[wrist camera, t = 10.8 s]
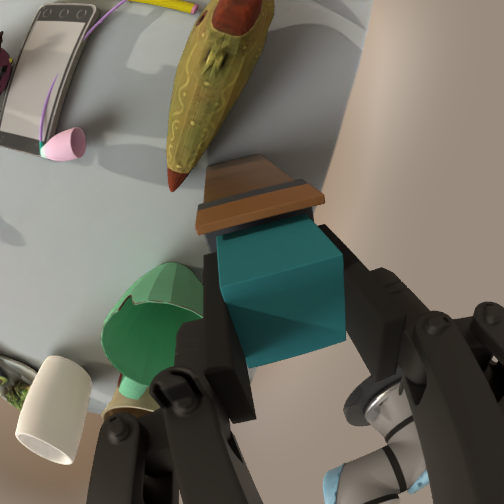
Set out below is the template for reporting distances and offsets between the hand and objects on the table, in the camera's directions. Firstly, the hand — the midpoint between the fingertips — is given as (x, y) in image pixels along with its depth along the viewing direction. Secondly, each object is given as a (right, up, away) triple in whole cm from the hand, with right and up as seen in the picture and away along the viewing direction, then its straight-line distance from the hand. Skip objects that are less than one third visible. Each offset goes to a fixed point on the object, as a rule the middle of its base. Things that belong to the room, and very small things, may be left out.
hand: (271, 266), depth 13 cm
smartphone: (-20, +17, +5) cm, 27 cm away
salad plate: (-41, -22, +21) cm, 51 cm away
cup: (-27, -16, +20) cm, 37 cm away
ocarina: (-4, +15, +8) cm, 18 cm away
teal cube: (0, 0, 0) cm, 0 cm away
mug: (-10, -4, +17) cm, 20 cm away
